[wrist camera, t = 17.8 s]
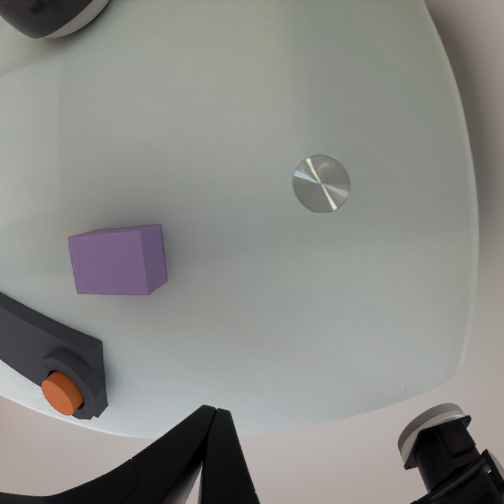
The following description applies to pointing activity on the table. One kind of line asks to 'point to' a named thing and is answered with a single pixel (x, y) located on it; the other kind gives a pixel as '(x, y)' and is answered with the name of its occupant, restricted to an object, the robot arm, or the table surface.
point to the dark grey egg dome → (49, 16)
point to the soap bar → (118, 261)
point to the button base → (52, 353)
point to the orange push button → (62, 393)
